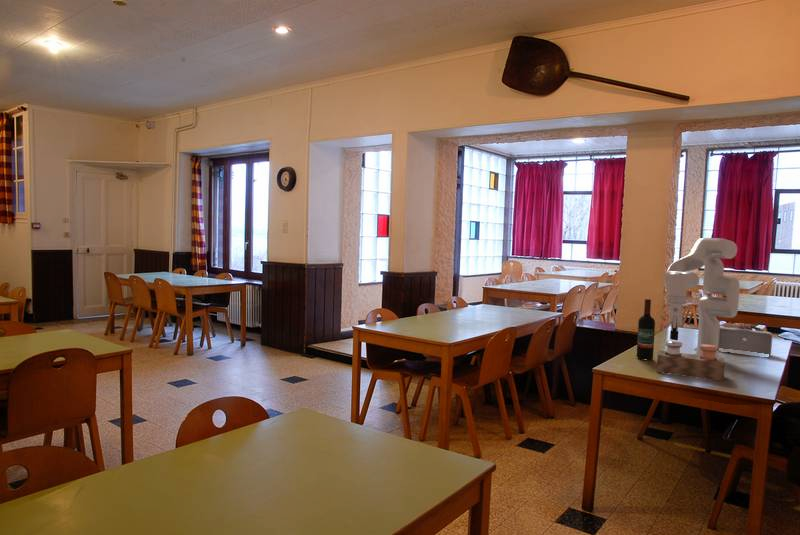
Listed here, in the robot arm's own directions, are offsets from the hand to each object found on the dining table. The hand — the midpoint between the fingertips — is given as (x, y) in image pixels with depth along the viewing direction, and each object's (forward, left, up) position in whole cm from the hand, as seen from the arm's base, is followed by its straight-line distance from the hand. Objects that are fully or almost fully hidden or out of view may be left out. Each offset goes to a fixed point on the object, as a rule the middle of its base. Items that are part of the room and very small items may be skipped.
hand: (673, 339), depth 243 cm
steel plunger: (0, 0, -10) cm, 10 cm away
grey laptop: (-41, +63, -15) cm, 77 cm away
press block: (+4, +6, -15) cm, 16 cm away
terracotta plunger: (+7, +12, -10) cm, 17 cm away
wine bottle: (-24, 0, -15) cm, 29 cm away
